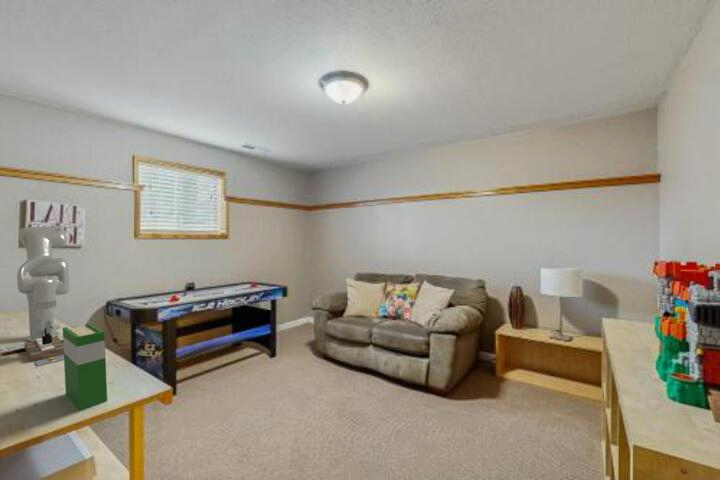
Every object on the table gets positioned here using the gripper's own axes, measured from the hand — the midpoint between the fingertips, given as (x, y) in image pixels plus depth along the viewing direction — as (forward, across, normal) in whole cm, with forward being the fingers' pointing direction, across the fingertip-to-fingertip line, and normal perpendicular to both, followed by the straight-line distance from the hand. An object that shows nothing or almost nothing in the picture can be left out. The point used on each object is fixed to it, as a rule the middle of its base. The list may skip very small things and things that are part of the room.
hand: (47, 343), depth 155 cm
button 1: (+3, -13, 0) cm, 14 cm away
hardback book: (+4, +65, +2) cm, 65 cm away
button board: (+5, -6, 0) cm, 8 cm away
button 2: (+4, +1, 0) cm, 4 cm away
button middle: (+3, -6, 0) cm, 7 cm away
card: (+5, +12, 0) cm, 13 cm away
